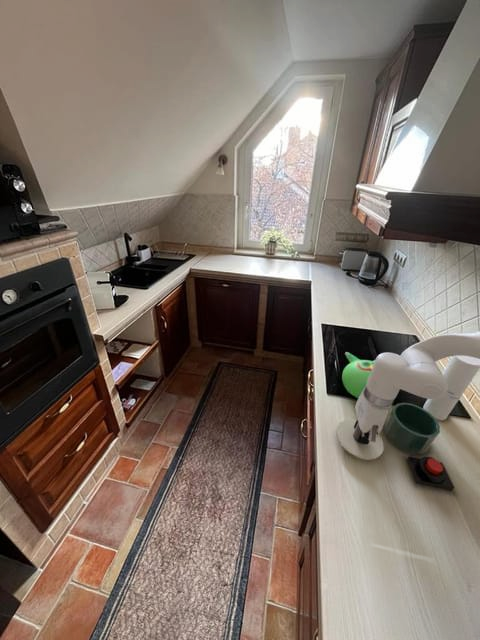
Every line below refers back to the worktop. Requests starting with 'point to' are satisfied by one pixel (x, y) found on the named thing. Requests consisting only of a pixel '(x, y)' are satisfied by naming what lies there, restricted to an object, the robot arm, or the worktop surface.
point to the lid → (349, 441)
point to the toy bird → (356, 374)
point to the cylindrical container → (453, 385)
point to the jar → (411, 428)
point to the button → (433, 466)
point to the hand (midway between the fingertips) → (360, 435)
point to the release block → (429, 474)
